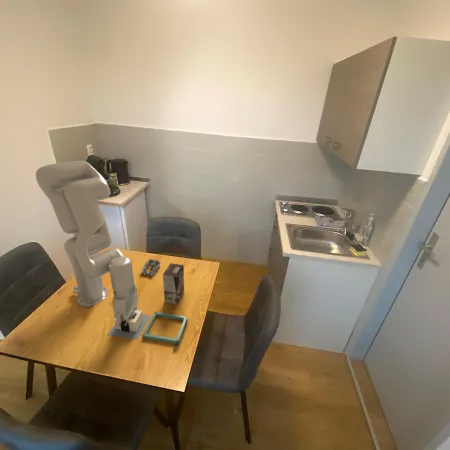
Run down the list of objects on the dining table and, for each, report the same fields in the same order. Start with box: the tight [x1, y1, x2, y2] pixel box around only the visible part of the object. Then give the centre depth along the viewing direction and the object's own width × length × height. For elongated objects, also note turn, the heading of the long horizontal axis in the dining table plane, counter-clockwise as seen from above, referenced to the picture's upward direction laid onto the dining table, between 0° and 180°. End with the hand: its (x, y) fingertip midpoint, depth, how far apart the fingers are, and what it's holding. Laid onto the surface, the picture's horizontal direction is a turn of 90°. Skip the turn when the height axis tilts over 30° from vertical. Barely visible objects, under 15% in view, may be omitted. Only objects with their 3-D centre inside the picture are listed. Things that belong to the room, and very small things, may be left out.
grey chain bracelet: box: [140, 258, 162, 277], centre depth 133 cm, size 11×8×4 cm
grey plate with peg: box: [107, 312, 152, 341], centre depth 98 cm, size 12×12×8 cm
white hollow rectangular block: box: [113, 309, 143, 332], centre depth 99 cm, size 8×6×5 cm
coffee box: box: [162, 262, 185, 305], centre depth 112 cm, size 9×6×16 cm
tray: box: [141, 311, 188, 347], centre depth 99 cm, size 14×12×2 cm
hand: (129, 323), depth 99 cm, fingers closed on white hollow rectangular block, 6 cm apart
